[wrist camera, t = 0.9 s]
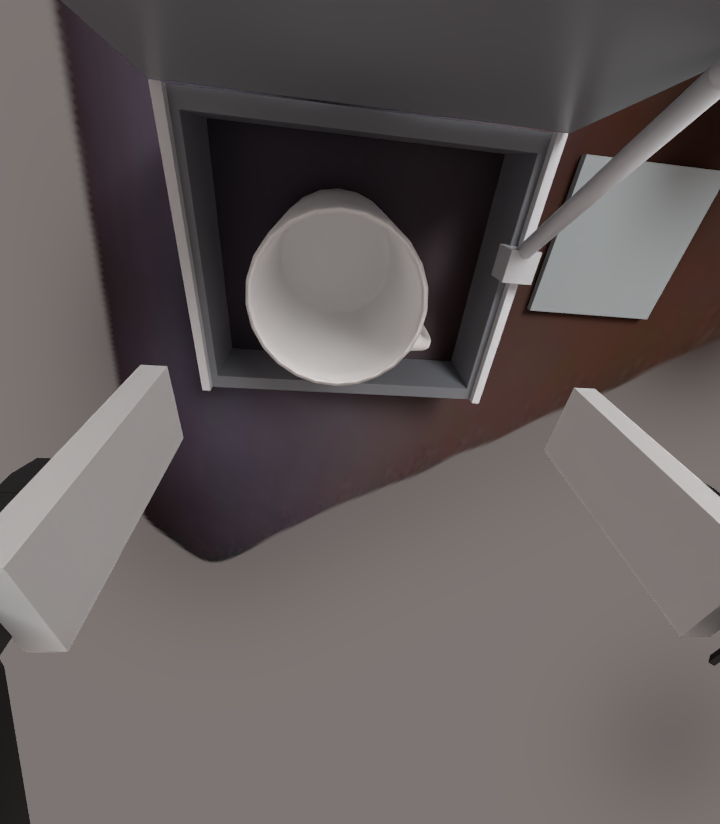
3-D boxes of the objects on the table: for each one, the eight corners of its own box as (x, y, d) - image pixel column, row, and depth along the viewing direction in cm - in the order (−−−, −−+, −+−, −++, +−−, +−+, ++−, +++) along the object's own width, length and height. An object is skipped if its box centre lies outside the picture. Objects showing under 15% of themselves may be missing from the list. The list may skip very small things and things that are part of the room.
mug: (289, 165, 25) (262, 170, 15) (446, 225, 28) (505, 260, 18) (265, 297, 30) (233, 362, 20) (400, 337, 33) (427, 411, 23)
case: (181, 62, 22) (-42, -77, 9) (538, 110, 24) (776, 56, 11) (220, 357, 33) (147, 488, 20) (463, 371, 35) (539, 496, 22)
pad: (582, 154, 26) (586, 154, 25) (721, 171, 27) (729, 171, 26) (526, 308, 32) (529, 310, 31) (642, 316, 33) (647, 319, 32)
